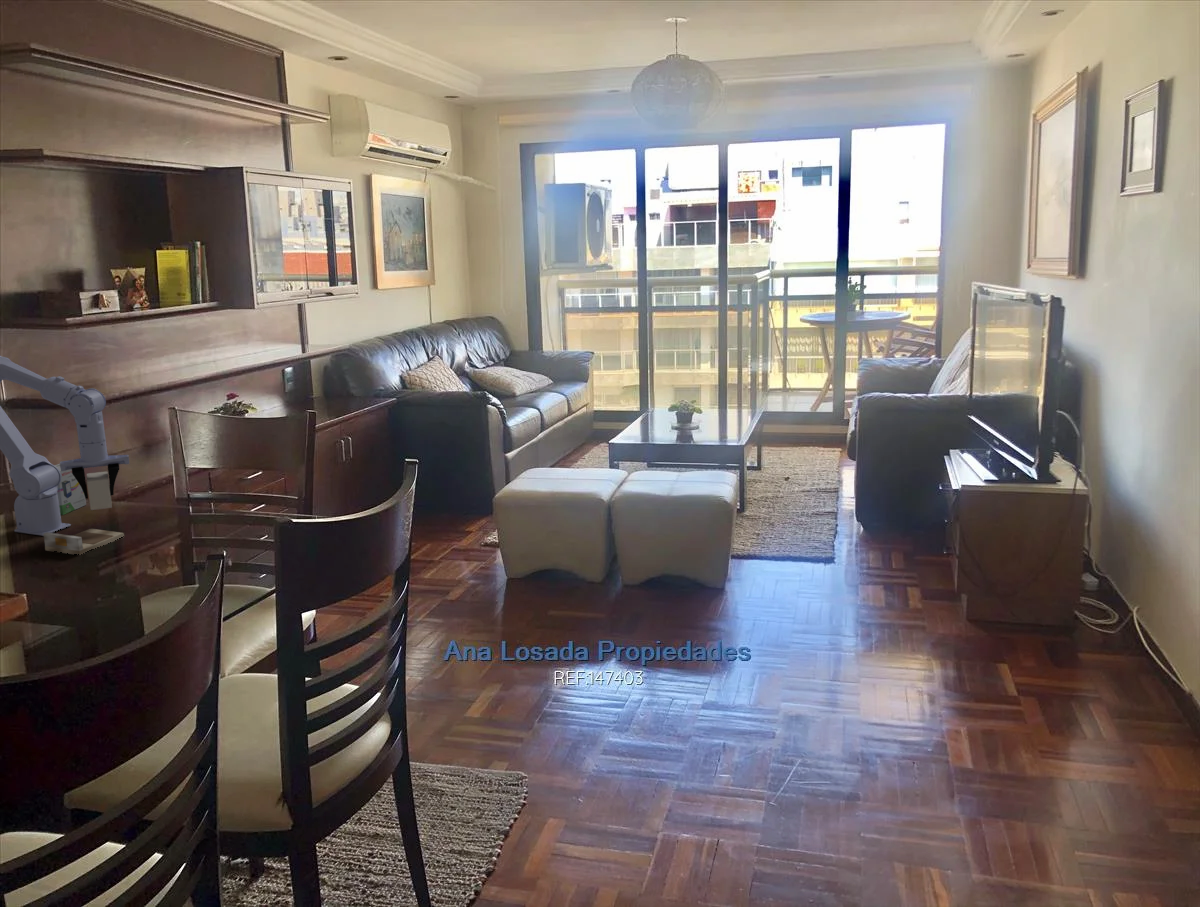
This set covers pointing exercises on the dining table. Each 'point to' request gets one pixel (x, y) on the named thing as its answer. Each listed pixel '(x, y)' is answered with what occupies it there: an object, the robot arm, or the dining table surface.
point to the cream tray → (79, 541)
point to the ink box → (69, 492)
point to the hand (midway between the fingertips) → (99, 495)
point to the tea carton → (98, 490)
